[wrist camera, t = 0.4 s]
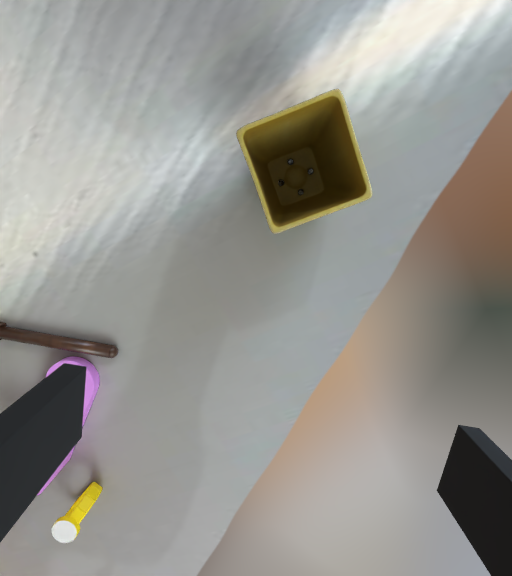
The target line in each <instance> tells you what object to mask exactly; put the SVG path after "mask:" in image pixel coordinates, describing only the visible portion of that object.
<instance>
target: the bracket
mask: <svg viewBox="0 0 512 576" xmlns="http://www.w3.org/2000/svg"><path fill="white" fill-rule="evenodd" d="M64 363H67V364H73V365H80V366H86V367H87V368H86V382H85V396H84V409H83V423H82V428H83V425H84V423H85V420H86V418H87V415H88V413H89V410H90V408H91V405H92V403H93V400H94V398H95V395H96V393H97V390H98V388H99V383H100V379H99V374H98V372H97V370H96V368H95V367H94V365H93V364H92V363H90V362H89V361H88V360H86V359H84V358H81V357H77V356H71V357H66V358H64V359H62V360H60V361H59V362H57V363H56V364H54V365H53V366H52V367H51V368H50V369H49V370H48V372H47V374H46V377H47V376H48V375H50V374H51V373H52V372H53V371H55V370H56V369H57V368H58V367H60V366H61V365H62V364H64ZM46 377H45V378H46ZM74 448H75V446H74V447H73V449H72V450H71V451H70V453H69V454H68V455H67V457H66V458H65V459H64V460H63V462H62V463H61V464H60V466H59V467H58V468H57V470H56V471H55V472H54V473H53V475H52V476H51V477H50V479H49V480H48V481H47V482H46V484H45V485H44V486H43V488H42V489H41V490H40V492H39V493H38V494H37V495H39V494H41V493H42V492H43V491H44V489H45V488H46V487H47V486H48V485H49V483H50V482H51V481H52V480H53V479H54V478H55V476H56V475H57V474H58V473H59V472H60V471H61V469H62V468H63V467H64V466H65V465H66V463H67V462H68V461H69V460H70V458H71V455H72V453H73V450H74Z"/></svg>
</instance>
